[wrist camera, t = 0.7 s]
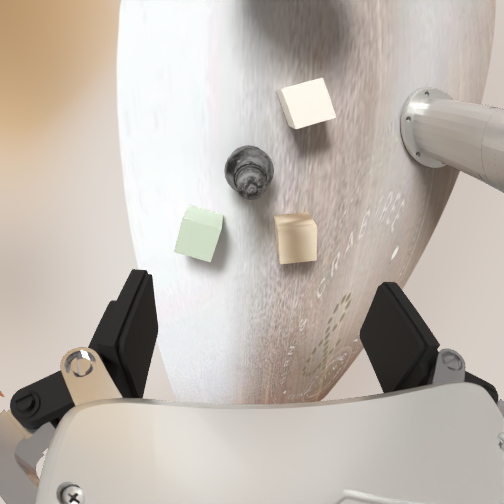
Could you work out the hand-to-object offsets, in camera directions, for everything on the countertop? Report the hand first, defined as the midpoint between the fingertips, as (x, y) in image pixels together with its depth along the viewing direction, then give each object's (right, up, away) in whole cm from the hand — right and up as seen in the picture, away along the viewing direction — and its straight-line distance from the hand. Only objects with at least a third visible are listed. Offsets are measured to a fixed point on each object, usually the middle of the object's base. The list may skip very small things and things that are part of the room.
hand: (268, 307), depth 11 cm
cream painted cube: (+6, +21, +22) cm, 31 cm away
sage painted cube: (-8, +6, +29) cm, 31 cm away
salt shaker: (-1, +14, +26) cm, 29 cm away
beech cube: (+5, +5, +30) cm, 31 cm away
